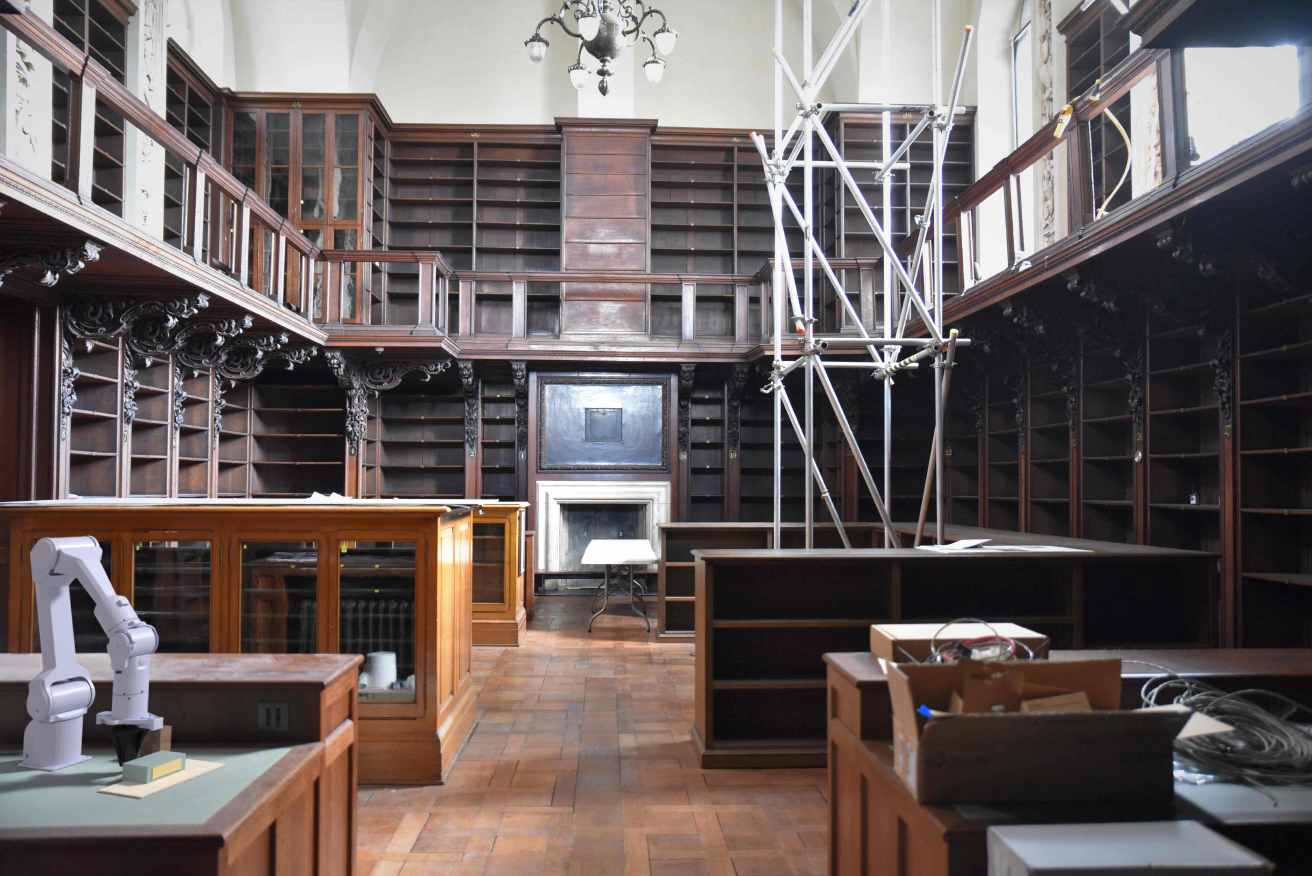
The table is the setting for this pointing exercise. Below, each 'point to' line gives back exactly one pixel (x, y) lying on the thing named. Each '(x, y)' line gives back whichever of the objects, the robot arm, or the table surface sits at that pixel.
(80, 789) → the table surface
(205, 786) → the table surface
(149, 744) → the walnut bookend
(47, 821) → the table surface
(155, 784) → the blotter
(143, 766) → the blue-grey box
